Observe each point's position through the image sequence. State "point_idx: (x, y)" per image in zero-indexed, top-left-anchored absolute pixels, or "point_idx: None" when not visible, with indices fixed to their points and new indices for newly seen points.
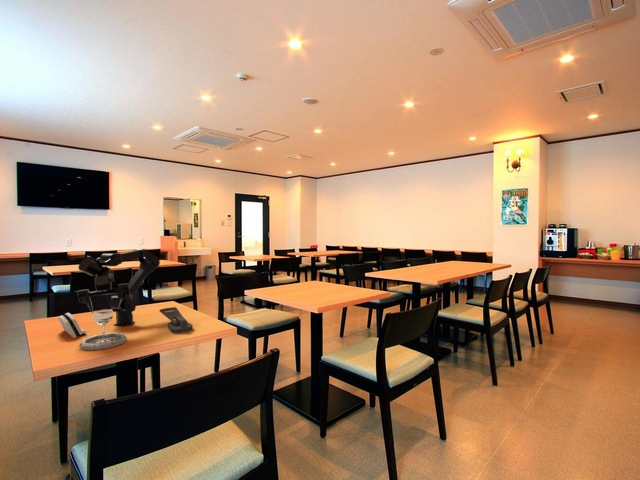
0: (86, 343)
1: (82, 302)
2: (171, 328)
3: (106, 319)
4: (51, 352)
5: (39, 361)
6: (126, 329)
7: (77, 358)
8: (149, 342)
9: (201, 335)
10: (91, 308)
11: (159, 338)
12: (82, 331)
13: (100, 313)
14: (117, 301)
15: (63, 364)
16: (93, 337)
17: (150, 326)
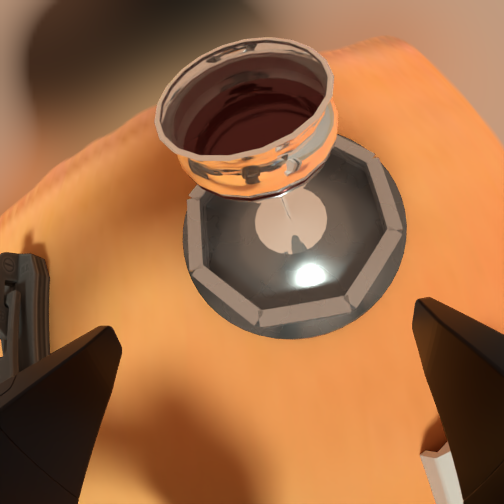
0: (355, 152)
1: None
2: (36, 276)
3: (226, 95)
4: (483, 176)
5: (458, 97)
6: (207, 471)
7: (343, 79)
8: (119, 178)
9: (18, 211)
10: (444, 315)
11: (87, 218)
12: (449, 450)
13: (249, 42)
14: (59, 363)
15: (363, 53)
16: (359, 274)
17: (104, 447)
